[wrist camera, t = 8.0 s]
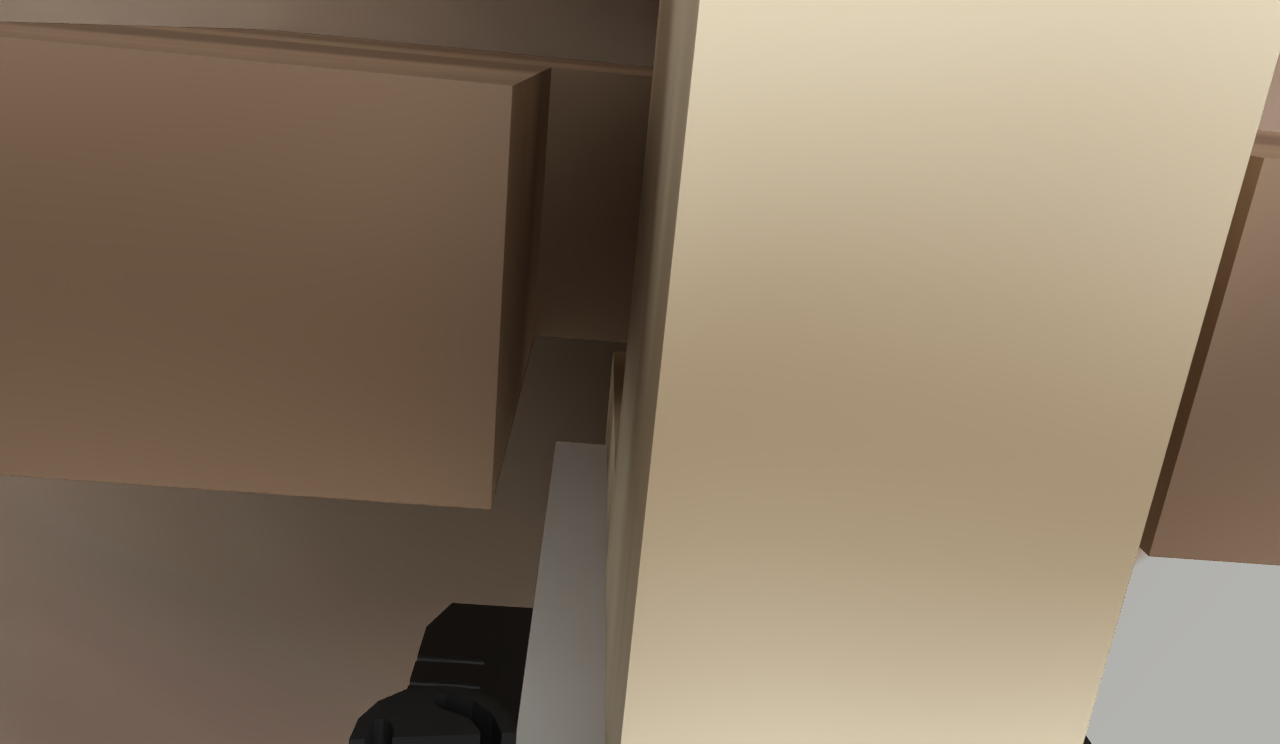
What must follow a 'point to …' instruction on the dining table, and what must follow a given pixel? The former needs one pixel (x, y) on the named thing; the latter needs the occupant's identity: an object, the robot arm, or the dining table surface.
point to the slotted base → (407, 270)
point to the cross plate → (908, 356)
